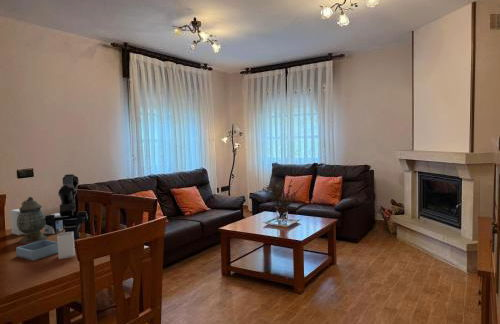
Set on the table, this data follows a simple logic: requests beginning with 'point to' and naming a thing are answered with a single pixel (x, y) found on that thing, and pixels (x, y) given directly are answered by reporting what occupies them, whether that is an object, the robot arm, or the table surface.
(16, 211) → the supplement box
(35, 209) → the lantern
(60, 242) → the white upright carton
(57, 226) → the light bulb box
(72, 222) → the robot arm
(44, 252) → the tray
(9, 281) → the table surface
